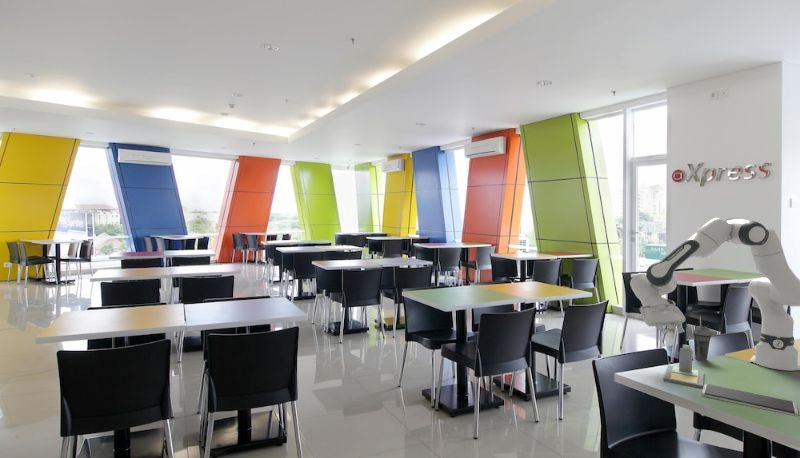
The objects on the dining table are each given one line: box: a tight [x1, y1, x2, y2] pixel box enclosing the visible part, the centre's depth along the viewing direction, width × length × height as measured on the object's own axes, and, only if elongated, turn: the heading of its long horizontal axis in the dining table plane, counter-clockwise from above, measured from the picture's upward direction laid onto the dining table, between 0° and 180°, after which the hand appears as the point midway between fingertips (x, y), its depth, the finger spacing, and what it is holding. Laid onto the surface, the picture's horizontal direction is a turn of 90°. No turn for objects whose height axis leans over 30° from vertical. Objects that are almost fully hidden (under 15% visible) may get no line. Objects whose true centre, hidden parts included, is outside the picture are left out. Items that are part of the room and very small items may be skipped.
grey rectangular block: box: [678, 344, 694, 373], centre depth 195 cm, size 5×5×11 cm
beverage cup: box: [692, 315, 712, 361], centre depth 218 cm, size 7×7×20 cm
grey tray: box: [700, 383, 799, 417], centre depth 167 cm, size 13×27×2 cm, turn 53°
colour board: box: [663, 364, 705, 389], centre depth 191 cm, size 22×13×1 cm, turn 146°
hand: (674, 332), depth 200 cm, fingers open, 8 cm apart
